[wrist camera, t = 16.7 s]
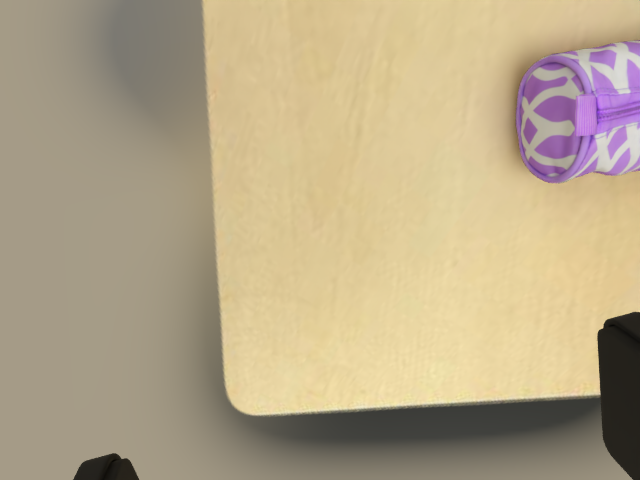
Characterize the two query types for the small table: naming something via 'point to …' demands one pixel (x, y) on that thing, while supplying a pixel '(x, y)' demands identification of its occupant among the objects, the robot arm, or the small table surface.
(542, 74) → the pencil case
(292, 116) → the small table surface
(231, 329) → the small table surface
